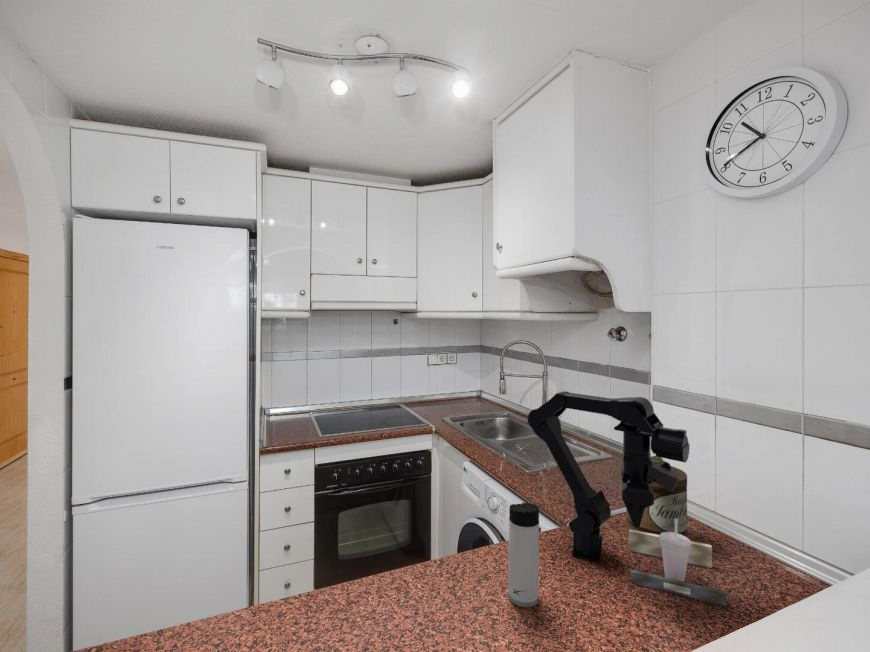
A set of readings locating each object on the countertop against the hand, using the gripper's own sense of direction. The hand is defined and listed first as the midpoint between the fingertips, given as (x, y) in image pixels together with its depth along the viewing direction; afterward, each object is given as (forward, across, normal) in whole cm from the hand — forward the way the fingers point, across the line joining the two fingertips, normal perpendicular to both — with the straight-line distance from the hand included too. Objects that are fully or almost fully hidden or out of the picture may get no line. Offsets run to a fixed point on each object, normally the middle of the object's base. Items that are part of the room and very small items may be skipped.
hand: (635, 518), depth 96 cm
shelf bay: (+13, +3, -8) cm, 16 cm away
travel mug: (+13, -20, +22) cm, 33 cm away
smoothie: (+13, +1, -8) cm, 16 cm away
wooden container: (+13, +22, -6) cm, 26 cm away
